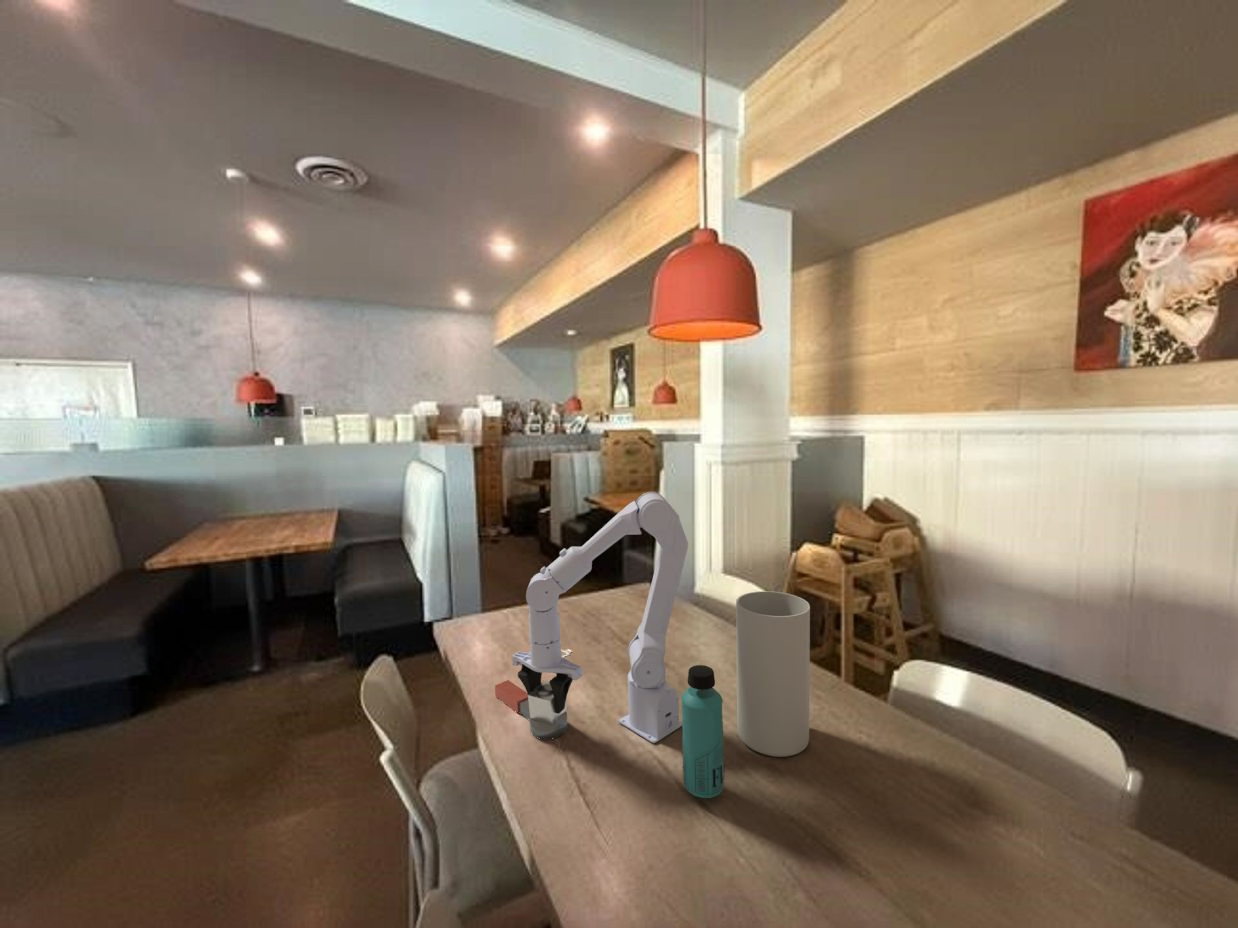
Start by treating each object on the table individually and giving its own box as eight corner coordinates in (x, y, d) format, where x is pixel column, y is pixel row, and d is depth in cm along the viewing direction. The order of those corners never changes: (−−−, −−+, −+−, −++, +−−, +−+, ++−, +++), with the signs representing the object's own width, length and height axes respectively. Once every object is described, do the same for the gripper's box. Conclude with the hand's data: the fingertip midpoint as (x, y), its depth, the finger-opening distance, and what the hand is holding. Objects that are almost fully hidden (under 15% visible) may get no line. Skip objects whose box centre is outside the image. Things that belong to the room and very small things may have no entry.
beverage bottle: (715, 814, 76) (714, 684, 74) (674, 798, 80) (672, 673, 78) (731, 787, 82) (730, 665, 80) (692, 772, 85) (690, 656, 83)
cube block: (567, 709, 99) (564, 684, 98) (552, 725, 95) (549, 699, 94) (545, 703, 102) (543, 678, 101) (530, 719, 97) (527, 693, 96)
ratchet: (574, 728, 98) (574, 704, 98) (544, 744, 93) (543, 719, 93) (516, 687, 114) (515, 666, 113) (487, 700, 109) (486, 678, 108)
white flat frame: (567, 685, 115) (567, 680, 115) (522, 661, 127) (522, 657, 126) (642, 647, 132) (642, 643, 132) (596, 629, 144) (596, 625, 144)
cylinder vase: (759, 709, 103) (759, 586, 100) (821, 735, 94) (822, 601, 92) (723, 737, 94) (722, 604, 92) (787, 769, 85) (788, 623, 83)
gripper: (589, 636, 97) (591, 705, 98) (526, 624, 103) (529, 688, 105) (569, 652, 91) (571, 725, 92) (503, 637, 97) (507, 706, 99)
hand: (548, 707), depth 98 cm, fingers closed on cube block, 5 cm apart
